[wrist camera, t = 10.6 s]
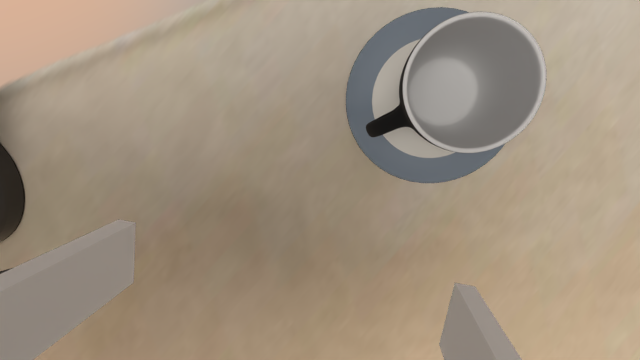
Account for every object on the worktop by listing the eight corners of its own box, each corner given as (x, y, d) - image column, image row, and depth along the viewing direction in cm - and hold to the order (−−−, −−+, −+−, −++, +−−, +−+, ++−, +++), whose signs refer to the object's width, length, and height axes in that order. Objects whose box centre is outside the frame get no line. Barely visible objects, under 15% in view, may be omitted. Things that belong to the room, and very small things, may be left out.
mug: (469, 22, 31) (515, -19, 21) (508, 114, 32) (569, 116, 22) (347, 86, 34) (337, 76, 24) (386, 170, 35) (393, 193, 25)
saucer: (332, 163, 37) (331, 165, 35) (365, -3, 33) (365, -7, 32) (490, 196, 35) (494, 199, 34) (542, 26, 32) (548, 23, 30)
